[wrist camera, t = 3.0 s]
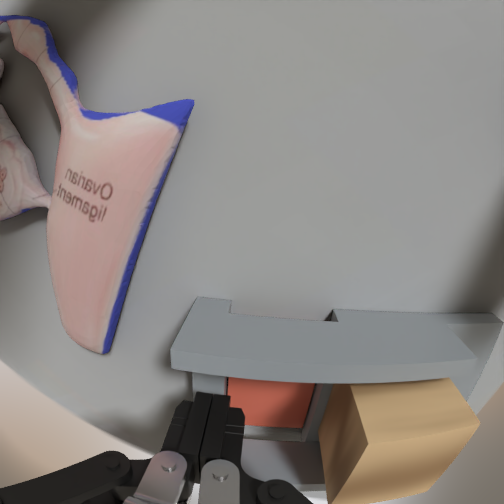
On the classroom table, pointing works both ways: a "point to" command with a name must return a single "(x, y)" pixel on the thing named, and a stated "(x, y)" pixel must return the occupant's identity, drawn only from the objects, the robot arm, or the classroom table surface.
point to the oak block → (391, 438)
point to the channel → (319, 368)
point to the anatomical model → (88, 188)
